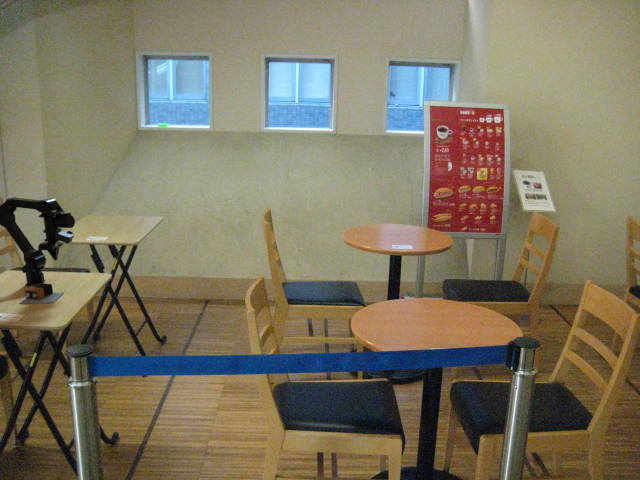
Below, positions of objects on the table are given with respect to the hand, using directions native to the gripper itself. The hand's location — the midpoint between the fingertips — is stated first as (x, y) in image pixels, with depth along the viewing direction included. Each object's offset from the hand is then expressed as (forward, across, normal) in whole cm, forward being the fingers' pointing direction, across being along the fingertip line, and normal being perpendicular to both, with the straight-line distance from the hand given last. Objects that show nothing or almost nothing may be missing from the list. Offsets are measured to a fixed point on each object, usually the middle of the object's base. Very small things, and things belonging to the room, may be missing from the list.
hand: (55, 260), depth 264 cm
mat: (+12, -18, 0) cm, 21 cm away
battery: (+9, -11, +1) cm, 14 cm away
